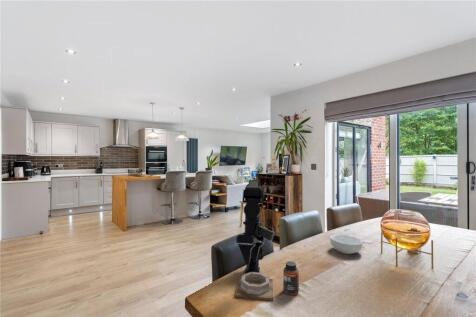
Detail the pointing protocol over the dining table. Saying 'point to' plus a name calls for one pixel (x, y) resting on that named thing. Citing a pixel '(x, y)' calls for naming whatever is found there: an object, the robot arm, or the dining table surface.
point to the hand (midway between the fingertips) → (251, 263)
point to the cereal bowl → (346, 244)
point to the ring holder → (255, 287)
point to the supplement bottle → (291, 279)
